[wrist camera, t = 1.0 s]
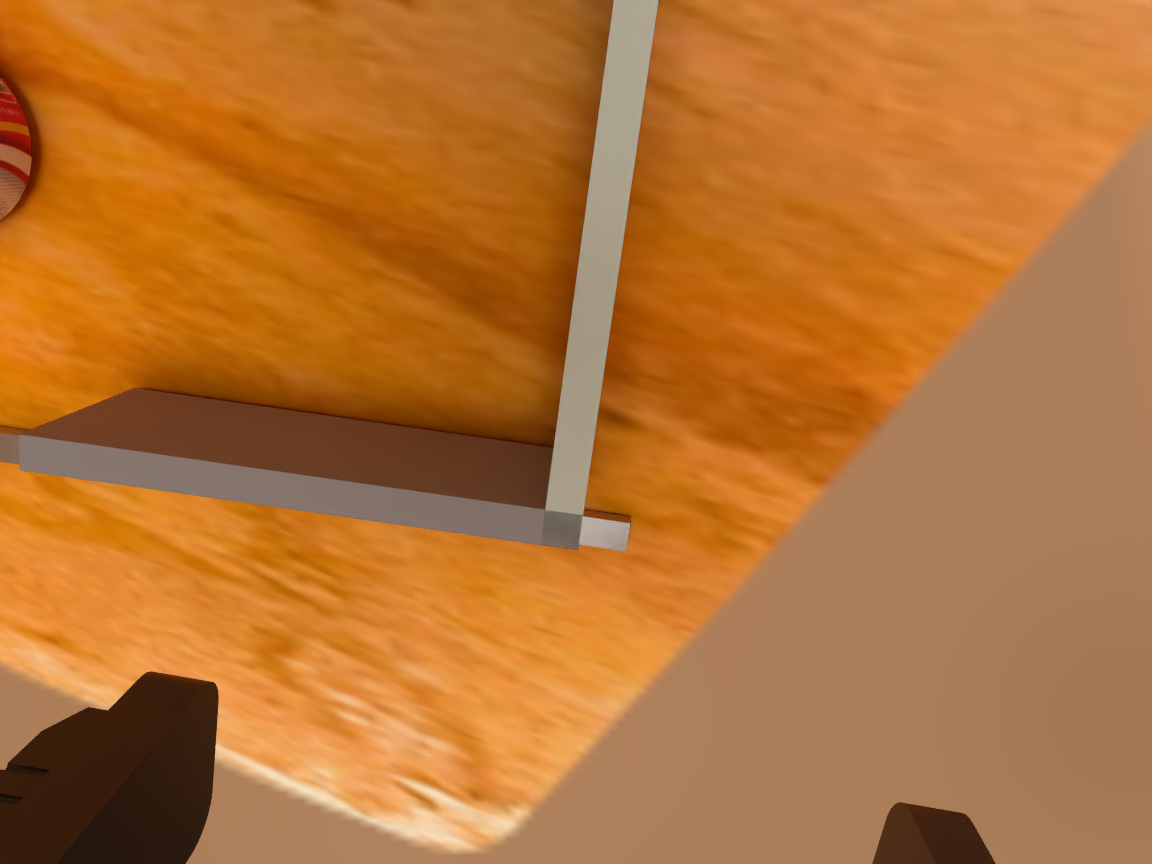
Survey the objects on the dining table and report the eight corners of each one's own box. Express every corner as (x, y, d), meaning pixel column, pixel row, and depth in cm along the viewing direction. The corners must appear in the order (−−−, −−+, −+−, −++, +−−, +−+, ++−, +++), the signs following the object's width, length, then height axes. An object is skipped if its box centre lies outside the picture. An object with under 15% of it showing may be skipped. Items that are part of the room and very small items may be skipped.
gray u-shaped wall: (138, -126, 30) (-1, -219, 23) (663, -53, 30) (676, -126, 23) (135, 416, 35) (19, 470, 28) (585, 481, 35) (577, 550, 28)
